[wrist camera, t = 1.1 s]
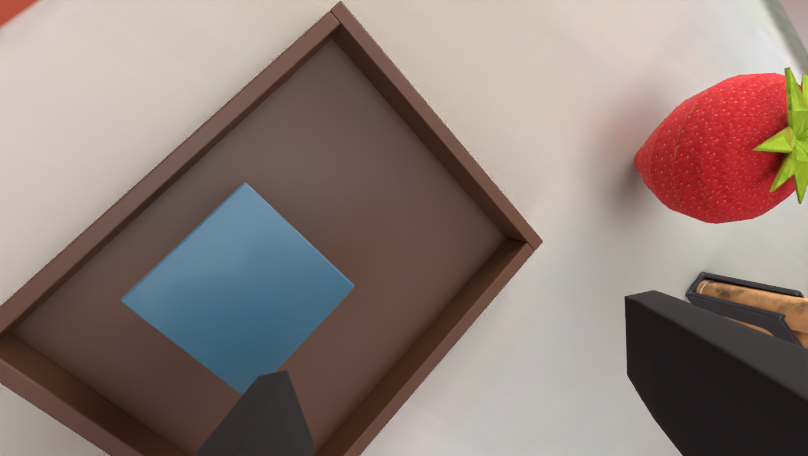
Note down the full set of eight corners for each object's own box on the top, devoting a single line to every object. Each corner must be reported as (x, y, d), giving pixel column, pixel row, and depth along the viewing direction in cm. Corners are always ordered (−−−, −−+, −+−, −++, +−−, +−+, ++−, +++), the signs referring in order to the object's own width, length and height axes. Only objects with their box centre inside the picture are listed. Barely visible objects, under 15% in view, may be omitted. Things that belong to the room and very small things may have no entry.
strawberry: (565, 155, 24) (776, 130, 14) (656, 73, 25) (900, 2, 16) (618, 242, 25) (839, 271, 16) (700, 160, 27) (947, 141, 17)
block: (247, 338, 19) (248, 401, 13) (159, 266, 17) (118, 300, 12) (323, 259, 19) (355, 286, 14) (244, 185, 18) (244, 181, 13)
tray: (267, 521, 20) (270, 561, 18) (-12, 330, 16) (-51, 351, 14) (515, 236, 23) (543, 241, 21) (330, 21, 19) (341, -1, 17)
